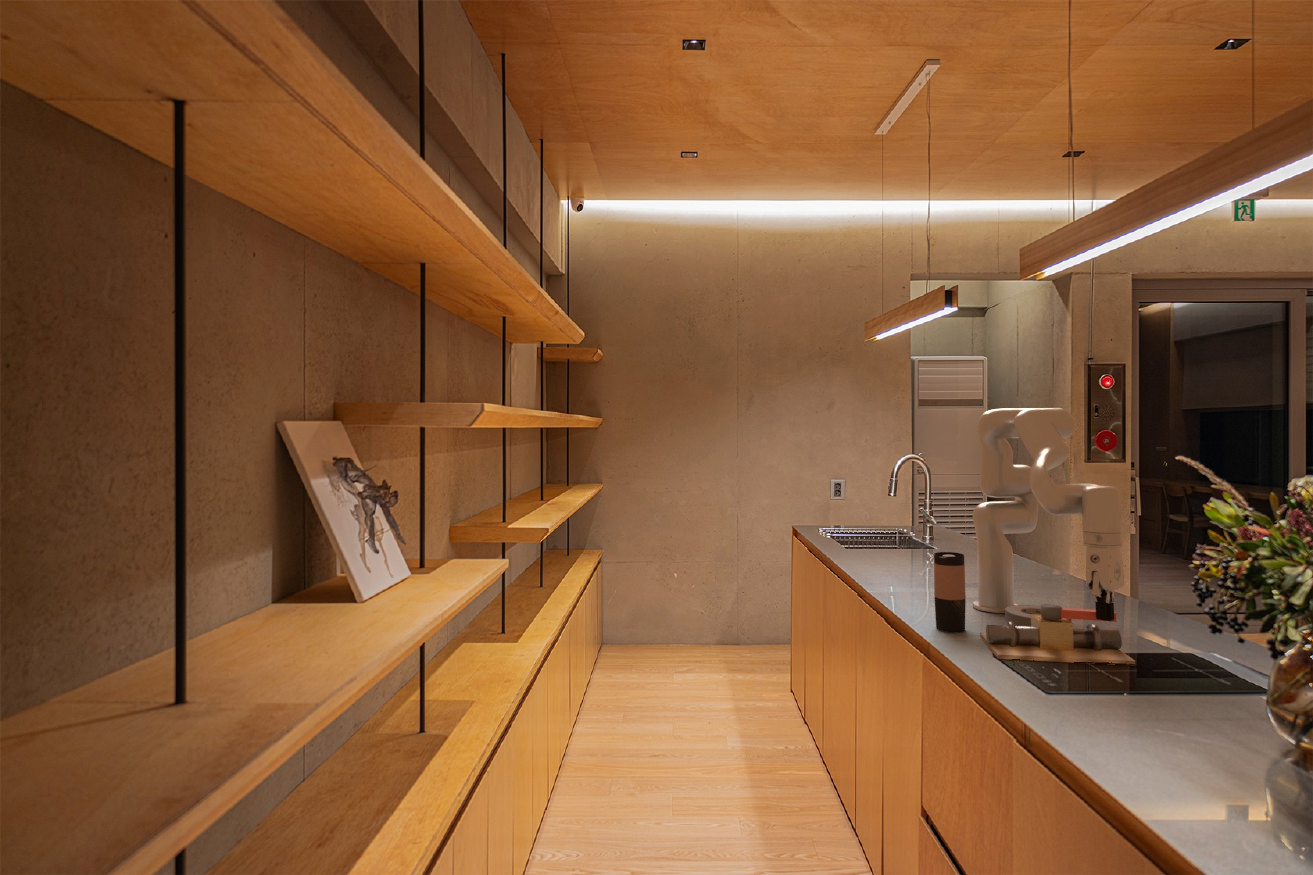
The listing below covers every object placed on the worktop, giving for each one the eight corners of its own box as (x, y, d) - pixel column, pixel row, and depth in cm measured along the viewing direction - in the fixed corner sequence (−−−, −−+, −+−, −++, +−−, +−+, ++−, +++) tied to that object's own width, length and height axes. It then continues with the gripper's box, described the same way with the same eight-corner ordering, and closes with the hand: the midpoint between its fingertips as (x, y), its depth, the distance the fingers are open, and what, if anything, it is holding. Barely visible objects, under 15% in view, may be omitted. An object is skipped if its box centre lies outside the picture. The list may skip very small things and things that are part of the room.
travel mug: (960, 625, 187) (959, 551, 188) (970, 633, 180) (968, 556, 180) (931, 625, 188) (929, 551, 188) (940, 633, 181) (938, 556, 181)
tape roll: (1074, 628, 184) (1074, 609, 184) (1068, 642, 171) (1068, 621, 171) (1010, 620, 193) (1010, 601, 193) (1000, 633, 180) (999, 613, 180)
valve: (992, 651, 165) (991, 619, 165) (985, 642, 171) (984, 612, 172) (1124, 657, 158) (1123, 624, 158) (1111, 648, 165) (1111, 617, 165)
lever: (1042, 618, 164) (1042, 607, 164) (1039, 614, 168) (1039, 603, 168) (1117, 623, 158) (1117, 612, 158) (1112, 618, 162) (1112, 607, 162)
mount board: (997, 658, 159) (997, 654, 159) (980, 636, 177) (979, 632, 177) (1135, 665, 153) (1135, 660, 153) (1102, 641, 170) (1102, 637, 170)
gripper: (1108, 544, 151) (1111, 628, 151) (1132, 537, 161) (1135, 617, 160) (1071, 541, 157) (1074, 622, 157) (1096, 535, 166) (1099, 611, 166)
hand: (1105, 619), depth 158 cm, fingers closed
